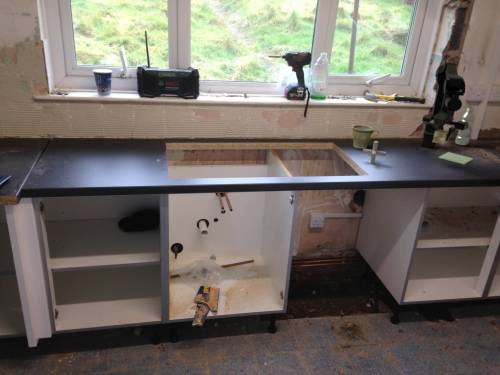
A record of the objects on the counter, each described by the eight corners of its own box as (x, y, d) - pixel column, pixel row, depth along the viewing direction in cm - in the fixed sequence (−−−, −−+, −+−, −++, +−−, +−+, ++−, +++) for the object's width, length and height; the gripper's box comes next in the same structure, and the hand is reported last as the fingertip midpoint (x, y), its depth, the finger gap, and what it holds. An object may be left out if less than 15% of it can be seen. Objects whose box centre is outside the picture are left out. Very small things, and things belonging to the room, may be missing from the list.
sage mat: (438, 157, 205) (438, 156, 205) (448, 152, 213) (448, 152, 213) (464, 164, 197) (464, 163, 197) (473, 159, 205) (473, 158, 205)
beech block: (432, 141, 195) (434, 131, 193) (437, 139, 198) (439, 129, 196) (443, 144, 192) (445, 134, 190) (447, 142, 195) (450, 132, 193)
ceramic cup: (349, 148, 211) (352, 129, 207) (350, 142, 220) (352, 124, 216) (376, 151, 209) (379, 132, 205) (375, 145, 217) (379, 126, 213)
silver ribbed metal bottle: (469, 147, 223) (479, 109, 215) (455, 145, 224) (465, 108, 216) (466, 143, 229) (475, 107, 221) (452, 142, 230) (462, 105, 222)
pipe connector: (384, 160, 197) (388, 140, 193) (383, 167, 188) (387, 146, 184) (362, 157, 199) (365, 137, 195) (360, 164, 191) (363, 143, 187)
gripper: (420, 104, 189) (413, 138, 195) (463, 113, 177) (454, 149, 183) (431, 101, 196) (423, 133, 202) (473, 109, 184) (464, 144, 191)
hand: (440, 140), depth 195 cm, fingers closed on beech block, 5 cm apart
